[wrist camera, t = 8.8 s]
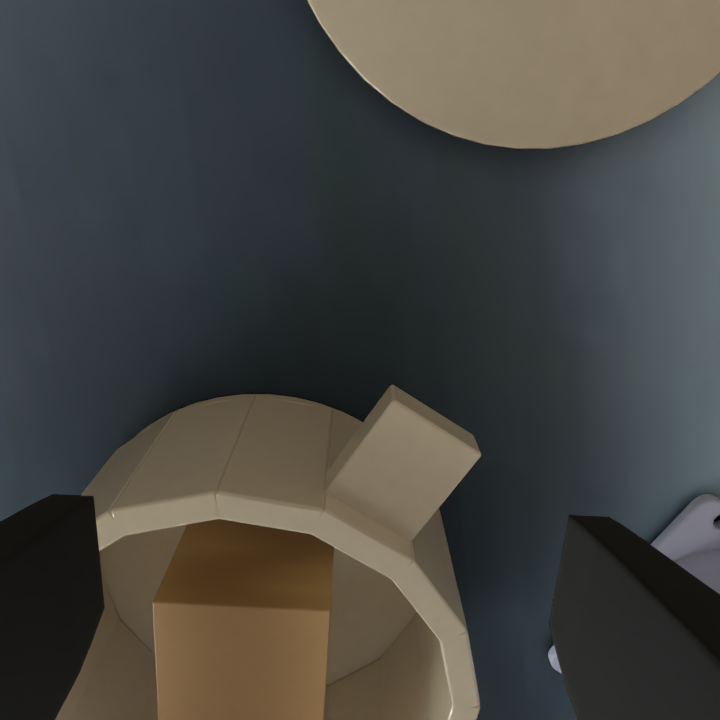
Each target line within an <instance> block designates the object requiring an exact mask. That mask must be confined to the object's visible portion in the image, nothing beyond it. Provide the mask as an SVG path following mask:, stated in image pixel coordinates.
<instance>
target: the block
mask: <svg viewBox="0 0 720 720" xmlns="http://www.w3.org/2000/svg"><path fill="white" fill-rule="evenodd" d="M333 560H334V547H333V546H331V545H329V544H328V543H326V542H324V541H322V540H320V539H319V538H317V537H315V536H313V535H311V534H307V533H301V532H295V531H289V530H283V529H277V528H271V527H265V526H259V525H253V524H247V523H241V522H234V521H228V520H222V519H215V520H210V521H204V522H198V523H193V524H187V525H186V528H185V530H184V532H183V534H182V537H181V539H180V541H179V543H178V546H177V548H176V550H175V552H174V555H173V557H172V559H171V561H170V564H169V566H168V568H167V570H166V573H165V575H164V577H163V579H162V582H161V584H160V586H159V588H158V591H157V593H156V595H155V597H154V600H153V602H152V607H153V626H154V646H155V666H156V685H157V705H158V720H324V711H325V695H326V679H327V663H328V647H329V631H330V615H331V597H332V579H333Z"/></svg>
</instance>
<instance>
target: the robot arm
mask: <svg viewBox="0 0 720 720" xmlns="http://www.w3.org/2000/svg"><path fill="white" fill-rule="evenodd" d="M719 515H720V499H719V498H718V497H716V496H714V495H711V494H703V495H700V496H698V497H696V498H695V499H694V500H693V501H692V502H691V503H690V504H689V505H688V506H687V507H686V508H685V509H684V510H683V511H682V512H681V513H680V514H679V515H678V516H677V517H676V518H675V519H674V520H673V521H672V522H671V523H670V524H669V526H668V527H667V528H666V529H665V530H664V531H663V532H662V533H661V534H660V535H659V536H658V537H657V538H656V539H655V540H654V541H653V542H652V543H651V544H649V543H647V542H646V541H645V540H643V539H642V538H640V537H639V536H638V535H636V534H635V533H633V532H632V531H630V530H629V529H627V528H626V527H624V526H623V525H621V524H620V523H618V522H616V521H615V520H613V519H611V518H610V517H600V516H575V515H569V518H568V523H567V529H566V534H565V540H564V545H563V550H562V556H561V561H560V566H559V572H558V577H557V582H556V588H555V593H554V599H553V604H552V609H551V615H550V620H549V627H550V630H551V634H552V638H553V642H554V645H553V646H552V647H551V649H550V650H549V653H548V657H549V660H550V663H551V665H552V667H553V668H554V669H555V670H556V671H558V672H560V673H562V676H563V679H564V683H565V686H566V690H567V692H568V695H569V697H570V700H571V703H572V705H573V708H574V710H575V713H576V715H577V718H578V720H720V520H718V521H714V519H715V518H716V517H717V516H719ZM104 608H105V605H104V595H103V585H102V575H101V565H100V555H99V545H98V535H97V525H96V515H95V505H94V496H83V495H58V494H52V495H50V496H48V497H46V498H44V499H42V500H40V501H38V502H36V503H34V504H32V505H30V506H28V507H26V508H24V509H23V510H21V511H19V512H17V513H15V514H14V515H12V516H10V517H8V518H6V519H5V520H3V521H1V522H0V720H55V719H56V717H57V715H58V713H59V711H60V709H61V708H62V706H63V704H64V702H65V700H66V698H67V696H68V694H69V692H70V691H71V689H72V687H73V685H74V683H75V681H76V679H77V677H78V675H79V673H80V671H81V668H82V666H83V663H84V661H85V658H86V656H87V653H88V651H89V648H90V646H91V643H92V641H93V638H94V635H95V633H96V630H97V627H98V625H99V622H100V619H101V616H102V614H103V611H104Z"/></svg>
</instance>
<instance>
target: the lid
mask: <svg viewBox="0 0 720 720" xmlns="http://www.w3.org/2000/svg"><path fill="white" fill-rule="evenodd" d="M307 2H308V4H309V5H310V7H311V9H312V11H313V13H314V15H315V17H316V19H317V20H318V22H319V24H320V26H321V27H322V29H323V30H324V32H325V33H326V34H327V36H328V37H329V39H330V40H331V42H332V43H333V44H334V46H335V47H336V49H337V50H338V52H339V53H340V54H341V56H342V57H343V58H344V59H345V60H346V61H347V62H348V63H349V65H350V66H351V67H352V68H353V69H354V70H355V71H356V72H357V73H358V74H359V75H360V77H361V78H362V79H363V80H364V81H365V82H366V83H367V84H368V85H370V86H371V87H372V88H373V89H374V90H376V91H377V92H378V93H379V94H380V95H382V96H383V97H384V98H385V99H386V100H387V101H389V102H390V103H391V104H392V105H394V106H396V107H397V108H399V109H400V110H402V111H404V112H405V113H407V114H408V115H410V116H411V117H413V118H415V119H416V120H418V121H419V122H421V123H424V124H426V125H428V126H430V127H433V128H435V129H437V130H439V131H441V132H444V133H446V134H448V135H451V136H454V137H458V138H461V139H465V140H468V141H471V142H475V143H478V144H483V145H490V146H497V147H504V148H511V149H551V148H559V147H566V146H573V145H581V144H585V143H589V142H593V141H596V140H600V139H604V138H607V137H611V136H614V135H617V134H620V133H622V132H625V131H627V130H629V129H632V128H634V127H637V126H639V125H641V124H644V123H646V122H649V121H650V120H652V119H654V118H656V117H657V116H659V115H661V114H663V113H664V112H666V111H668V110H670V109H671V108H673V107H675V106H677V105H678V104H680V103H682V102H683V101H684V100H686V99H687V98H688V97H690V96H691V95H693V94H694V93H695V92H697V91H698V90H699V89H701V88H702V87H703V86H705V85H706V84H707V83H709V82H710V81H711V80H713V79H714V78H715V77H716V76H717V75H718V74H719V73H720V0H307Z"/></svg>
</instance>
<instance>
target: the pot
mask: <svg viewBox="0 0 720 720" xmlns="http://www.w3.org/2000/svg"><path fill="white" fill-rule="evenodd" d="M480 457H481V452H480V449H479V447H478V445H477V442H476V440H475V437H474V436H473V435H472V434H471V433H469V432H467V431H466V430H464V429H463V428H461V427H460V426H458V425H456V424H455V423H453V422H452V421H450V420H448V419H447V418H445V417H444V416H442V415H440V414H439V413H437V412H436V411H434V410H433V409H431V408H429V407H428V406H426V405H425V404H423V403H421V402H420V401H418V400H417V399H415V398H413V397H412V396H410V395H409V394H407V393H406V392H404V391H402V390H401V389H399V388H398V387H396V386H394V385H391V386H389V388H388V389H387V390H386V392H385V393H384V394H383V396H382V397H381V399H380V400H379V401H378V403H377V404H376V405H375V407H374V408H373V409H372V411H371V412H370V414H369V415H368V416H367V418H366V419H365V420H364V422H361V421H359V420H358V419H356V418H354V417H352V416H350V415H348V414H346V413H344V412H342V411H339V410H336V409H334V408H331V407H328V406H326V405H323V404H321V403H317V402H313V401H309V400H304V399H300V398H296V397H289V396H281V395H272V394H241V395H233V396H225V397H217V398H213V399H210V400H206V401H202V402H198V403H194V404H191V405H189V406H186V407H184V408H181V409H179V410H176V411H174V412H171V413H169V414H167V415H166V416H164V417H162V418H160V419H159V420H157V421H155V422H153V423H151V424H150V425H148V426H147V427H146V428H144V429H143V430H142V431H141V432H139V433H138V434H137V435H135V436H134V437H133V438H131V439H130V440H129V442H127V443H126V444H124V445H123V446H121V447H120V448H118V449H117V450H116V451H115V452H114V453H113V454H112V456H111V457H110V458H109V459H108V461H107V462H106V463H105V465H104V466H103V467H102V468H101V470H100V471H99V472H98V473H97V475H96V476H95V477H94V479H93V480H92V481H91V482H90V484H89V485H88V486H87V487H86V489H85V490H84V491H83V493H82V494H81V495H83V496H94V505H95V515H96V525H97V535H98V545H99V555H100V565H101V575H102V585H103V595H104V605H105V608H104V611H103V614H102V616H101V619H100V622H99V625H98V627H97V630H96V633H95V635H94V638H93V641H92V643H91V646H90V648H89V651H88V653H87V656H86V658H85V661H84V663H83V666H82V668H81V671H80V673H79V675H78V677H77V679H76V681H75V683H74V685H73V687H72V689H71V691H70V692H69V694H68V696H67V698H66V700H65V702H64V704H63V706H62V708H61V709H60V711H59V713H58V715H57V717H56V719H55V720H158V705H157V685H156V666H155V646H154V626H153V607H152V602H153V600H154V597H155V595H156V593H157V591H158V588H159V586H160V584H161V582H162V579H163V577H164V575H165V573H166V570H167V568H168V566H169V564H170V561H171V559H172V557H173V555H174V552H175V550H176V548H177V546H178V543H179V541H180V539H181V537H182V534H183V532H184V530H185V528H186V525H187V524H193V523H198V522H204V521H210V520H215V519H222V520H228V521H234V522H241V523H247V524H253V525H259V526H265V527H271V528H277V529H283V530H289V531H295V532H301V533H307V534H311V535H313V536H315V537H317V538H319V539H320V540H322V541H324V542H326V543H328V544H329V545H331V546H333V547H334V560H333V579H332V597H331V615H330V631H329V647H328V663H327V679H326V695H325V711H324V720H476V719H477V716H478V713H479V710H480V698H479V692H478V686H477V681H476V675H475V669H474V664H473V658H472V652H471V647H470V641H469V635H468V630H467V626H466V621H465V617H464V613H463V608H462V604H461V600H460V595H459V591H458V587H457V582H456V578H455V574H454V569H453V565H452V560H451V556H450V552H449V547H448V543H447V539H446V534H445V530H444V526H443V521H442V517H441V512H440V508H439V507H440V506H441V504H442V503H443V502H444V501H445V500H446V498H447V497H448V496H449V495H450V493H451V492H452V491H453V490H454V489H455V487H456V486H457V485H458V484H459V482H460V481H461V480H462V479H463V478H464V476H465V475H466V474H467V473H468V471H469V470H470V469H471V468H472V466H473V465H474V464H475V463H476V462H477V460H478V459H479V458H480Z"/></svg>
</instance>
